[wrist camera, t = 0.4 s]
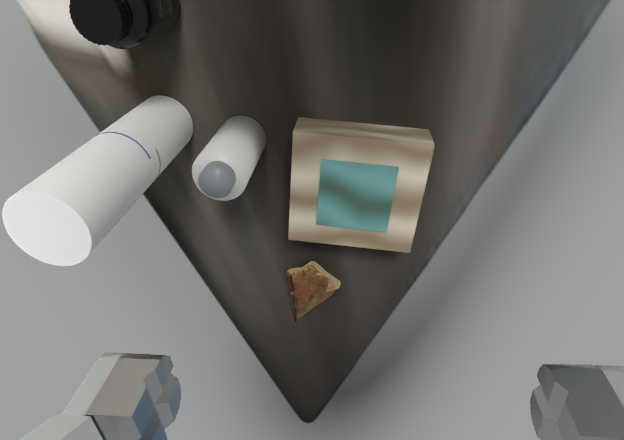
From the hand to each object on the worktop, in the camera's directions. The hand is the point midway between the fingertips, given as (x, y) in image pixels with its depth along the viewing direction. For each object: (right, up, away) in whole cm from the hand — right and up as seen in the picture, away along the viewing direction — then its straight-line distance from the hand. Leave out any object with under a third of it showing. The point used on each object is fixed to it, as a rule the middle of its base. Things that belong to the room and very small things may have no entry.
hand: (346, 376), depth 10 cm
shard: (0, -7, +59) cm, 60 cm away
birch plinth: (+5, +9, +48) cm, 49 cm away
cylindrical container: (-19, +16, +46) cm, 53 cm away
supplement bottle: (-19, +28, +39) cm, 51 cm away
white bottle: (-10, +14, +46) cm, 49 cm away
